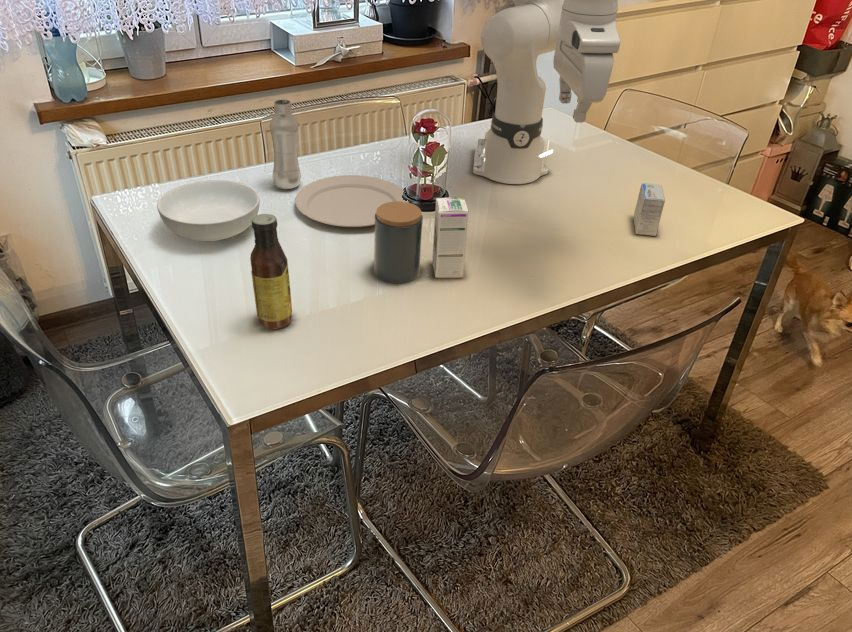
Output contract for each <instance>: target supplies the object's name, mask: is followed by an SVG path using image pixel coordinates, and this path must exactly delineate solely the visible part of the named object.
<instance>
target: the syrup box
mask: <svg viewBox="0 0 852 632" xmlns="http://www.w3.org/2000/svg"><path fill="white" fill-rule="evenodd" d="M434 208H435V209H434V226H433V227H434V228H433V246H432V268H433V274H434V278H436V279H437V278H438V279H458V278H459V279H461V278H464V272H465V262H466V261H465V260H466V251H467V250H466V249H467V237H468V236H467V235H468V221H469V209H468V205H467V202H466V199H465V198H464V197H456V196H455V197H454V196H453V197H451V196H450V197H436V198H435V207H434Z"/></svg>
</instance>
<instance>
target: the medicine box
mask: <svg viewBox="0 0 852 632" xmlns="http://www.w3.org/2000/svg"><path fill="white" fill-rule="evenodd" d="M665 202H666V198H665V193H664V190H663V185H662V184H656V183H646V182H645V183H644V182H643V183H641V185H640V188H639V192H638V196H637V200H636V204H635V208H634V213H633V218H632V219H633V224H634V232H635V235H641V236H651V237H655V236H657V233H658V229H659V226H660V222H661V218H662V214H663V211H664V206H665Z"/></svg>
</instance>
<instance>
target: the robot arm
mask: <svg viewBox="0 0 852 632" xmlns="http://www.w3.org/2000/svg"><path fill="white" fill-rule="evenodd" d="M511 1H512V3H513V6H511V7H507V8H503V9H502V10H500V11H498V12H495V14H493V15H491V16H490V17H488V19H486V21H485V22H484V23H483V25H482V28H481V34H480V41H481V47H482V49H483V51H484V54H485V56H486V57H488V59H490V60H491V62H492V63H493V66H494V68H495V69H494V70H495V73H496V82H497V85H496V86H497V88H496V100H495V109H494V110H495V111H494V113H493V115H492V117H491V121H490V122H491V124H490V128H489V129H488V130H487V131H486V132H485V133H484V138H478V140H477V147H475V149H474V155H473V167H472V173H473V174H474V175H477V176H481V177H484V178H487V179H489V180H491V181H493V182H497V183H501V184H508V185H524V184H525V185H526V184H529V183H533V182H535V181H537V180H539V178H540V177H543V176H545V175H547V174H549V168H548V167H547V166H546V165H545V164H544V161H545V157H546V156H549V155H551V154H553V152H554V149H550V150H548V151H546V141H545V139H544V138H543V137H542V136H541V134H542V130H543V126H544V123H543V122H544V118H543V111H544V105H545V97H546V91H547V86H546V82H545V81H544V79H542V78H541V77H540V76H539V73H538V68H537V67H538V66H537V61H538V58H539V57H538V56H540V55H544V54H548V53H550V52H551V53H552V52H554V54H553V59H552V64H553V69H554V70H555V71H556V72H557V74H558V75H559V96H558V101H559V102H560V103H561V104H562V105H563V104H566V105H567V104H570V103H571V101H572V95H573V93H574V95H575V96H576V97H577V99H576V102H577V103H576V107H575V108H574V109H573V113H572V119H573V121H574V122H575V123H576V124H577V123H578V124H579V123H580V124H581V123H585V122H586V119H587V118H586V117H587V113H588V112H589V110H590V108H591V107H592V104H600V103H602V101H604V98H605V97H606V94H607V92H608V88H609V84H610V80H611V77H612V73H613V67H614V61H615V59H614V54H618V53H619V52H620V51H619V50H620V46H621V38H620V36H619V33H618V29H617V21H616V20H617V17H618V9H619V5H618V4H619V2H618V0H511ZM572 92H573V93H572Z"/></svg>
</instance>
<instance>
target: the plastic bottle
mask: <svg viewBox="0 0 852 632" xmlns="http://www.w3.org/2000/svg"><path fill="white" fill-rule="evenodd" d="M273 106H274V108H273V111H274V112H275V113H274V115H273V116H272V118H271V119H270V122H269V132H270V136H271V141H272V148H273V170H272V180H273V184H274V185H275V187H276V188H278V189H282V190H291V189H295V188H297V187H299V185H300V183H301V179H302V174H301V173H302V172H301V168H300V166H299V165H300V163H299V157H298V138H299V122H298V119H297V118H296V117H295V116H294V114H293V113H292V110H293V108H292V102H291V100H289V99H276V100H275V101H274V103H273Z"/></svg>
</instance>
